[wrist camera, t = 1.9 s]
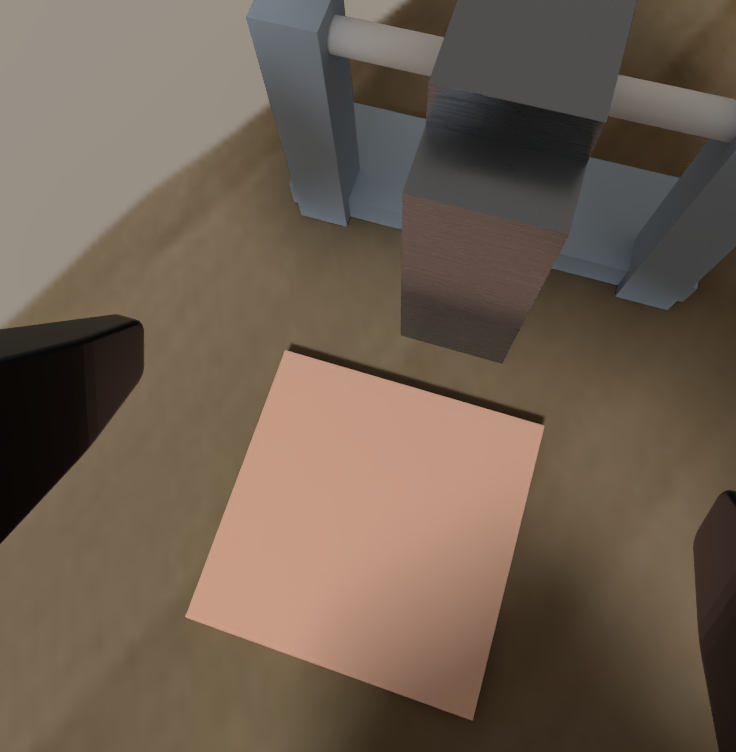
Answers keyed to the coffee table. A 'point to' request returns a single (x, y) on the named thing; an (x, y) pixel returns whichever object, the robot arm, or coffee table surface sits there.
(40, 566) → the coffee table surface
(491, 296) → the gray block
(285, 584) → the terracotta mat
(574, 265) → the rail stand
